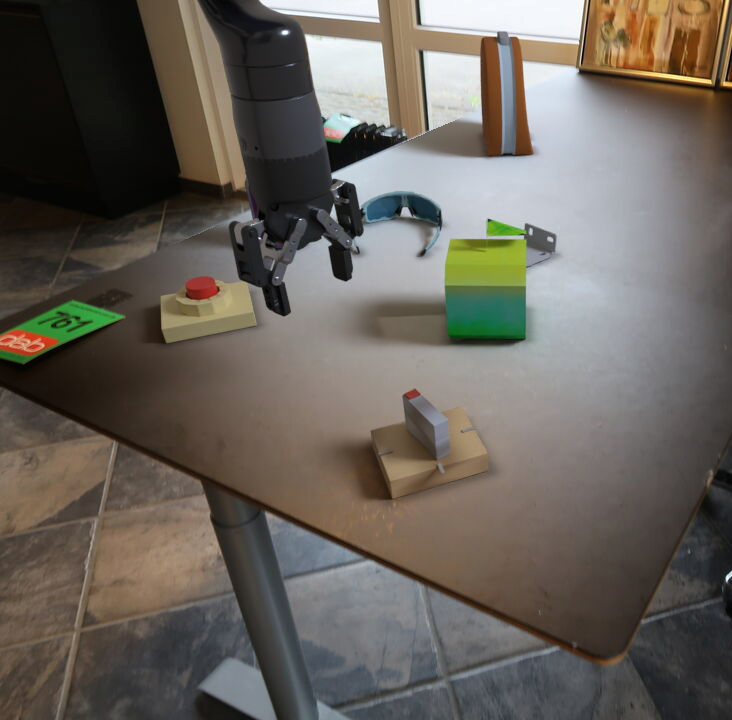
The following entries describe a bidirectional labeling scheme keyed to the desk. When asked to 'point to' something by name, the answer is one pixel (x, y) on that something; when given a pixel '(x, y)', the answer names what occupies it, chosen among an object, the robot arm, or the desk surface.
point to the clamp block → (428, 456)
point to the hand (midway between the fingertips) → (313, 295)
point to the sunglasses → (393, 205)
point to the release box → (206, 312)
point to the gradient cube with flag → (487, 285)
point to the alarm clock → (503, 96)
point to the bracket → (538, 244)
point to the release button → (201, 288)
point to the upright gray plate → (426, 424)
